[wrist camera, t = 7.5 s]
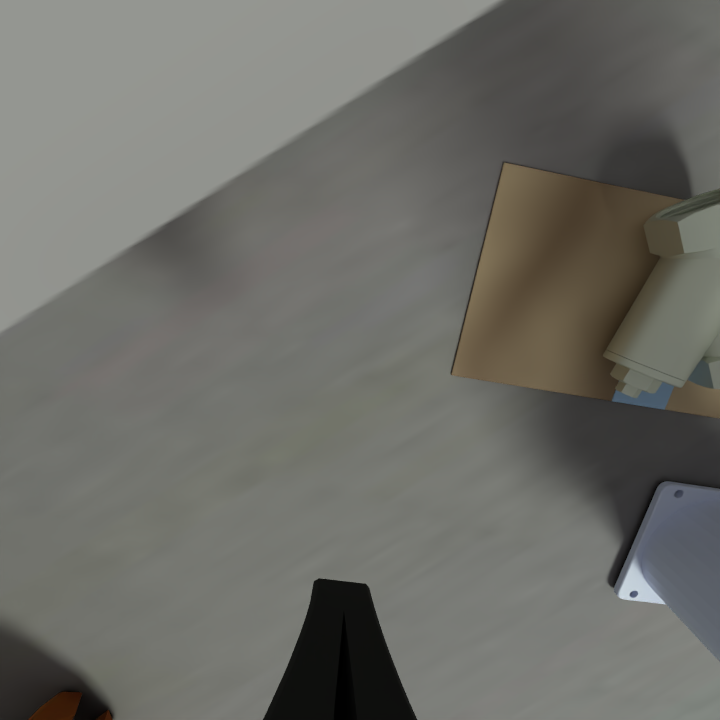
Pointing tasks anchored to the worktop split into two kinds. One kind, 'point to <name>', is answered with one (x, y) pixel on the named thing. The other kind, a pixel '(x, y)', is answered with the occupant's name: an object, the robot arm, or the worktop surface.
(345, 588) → the robot arm
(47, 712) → the tool
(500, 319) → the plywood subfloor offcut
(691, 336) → the pipe fitting
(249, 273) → the worktop surface
